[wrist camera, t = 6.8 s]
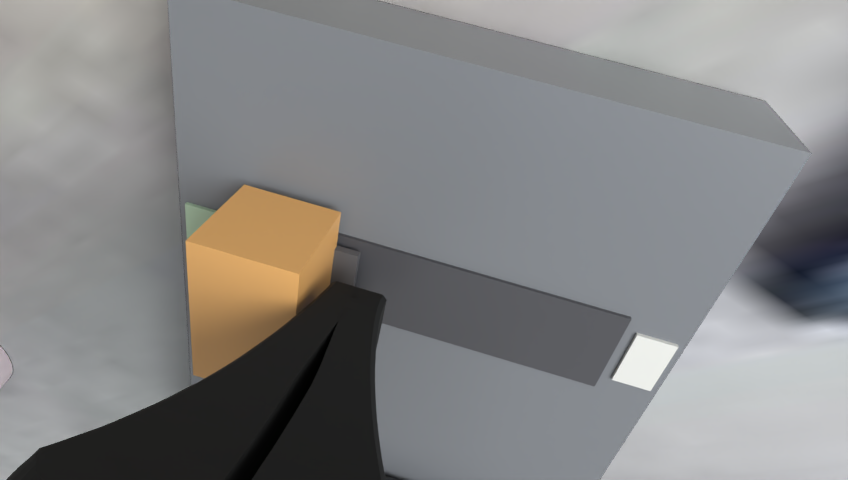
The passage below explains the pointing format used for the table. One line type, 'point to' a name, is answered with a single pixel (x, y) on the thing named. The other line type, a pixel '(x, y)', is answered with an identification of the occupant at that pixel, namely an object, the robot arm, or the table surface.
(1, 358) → the smoothie
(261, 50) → the panel
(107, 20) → the table surface
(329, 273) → the block
